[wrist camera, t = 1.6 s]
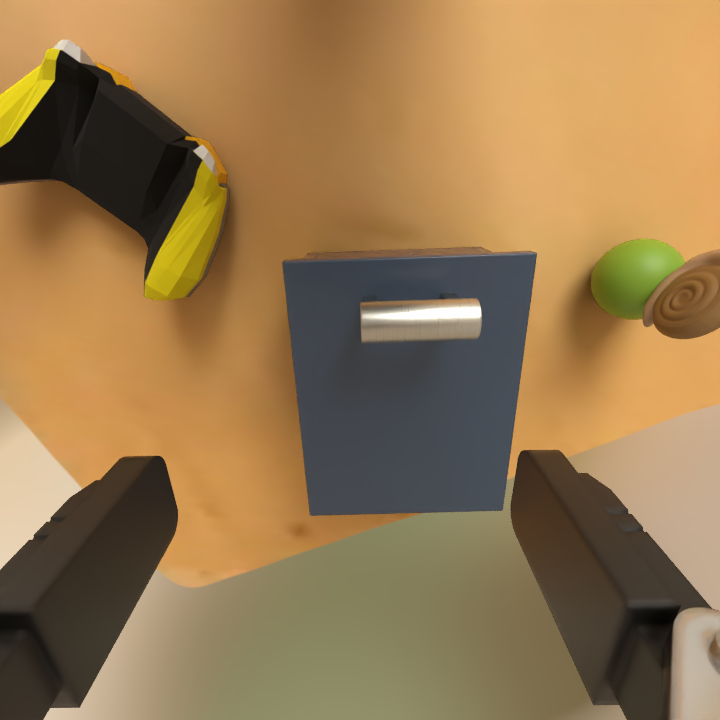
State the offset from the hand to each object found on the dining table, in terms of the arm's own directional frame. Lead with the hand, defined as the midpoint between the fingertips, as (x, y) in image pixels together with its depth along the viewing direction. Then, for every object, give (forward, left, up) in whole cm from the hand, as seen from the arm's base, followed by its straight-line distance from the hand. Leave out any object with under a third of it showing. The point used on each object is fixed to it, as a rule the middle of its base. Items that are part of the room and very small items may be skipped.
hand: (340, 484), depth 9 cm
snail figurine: (-11, +17, -23) cm, 30 cm away
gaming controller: (+1, -16, -23) cm, 28 cm away
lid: (+3, +5, -14) cm, 15 cm away
